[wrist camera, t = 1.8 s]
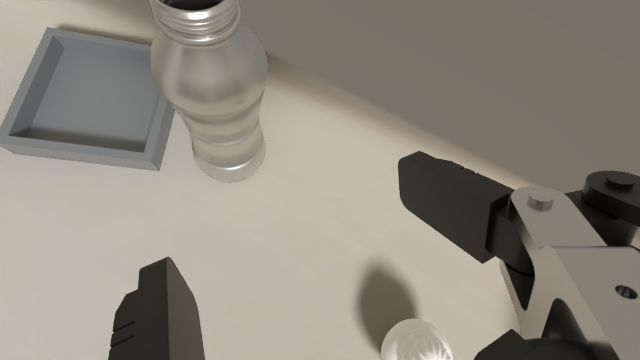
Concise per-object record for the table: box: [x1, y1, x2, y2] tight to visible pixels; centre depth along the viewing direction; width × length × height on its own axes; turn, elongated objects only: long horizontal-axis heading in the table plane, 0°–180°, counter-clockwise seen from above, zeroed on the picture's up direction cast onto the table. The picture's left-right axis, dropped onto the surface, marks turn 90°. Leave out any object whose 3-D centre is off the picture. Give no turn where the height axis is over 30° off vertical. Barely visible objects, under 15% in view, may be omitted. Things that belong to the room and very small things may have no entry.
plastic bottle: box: [149, 0, 268, 183], centre depth 22 cm, size 6×7×20 cm
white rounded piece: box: [380, 319, 453, 360], centre depth 25 cm, size 6×6×7 cm
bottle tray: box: [0, 27, 175, 171], centre depth 30 cm, size 13×13×2 cm
